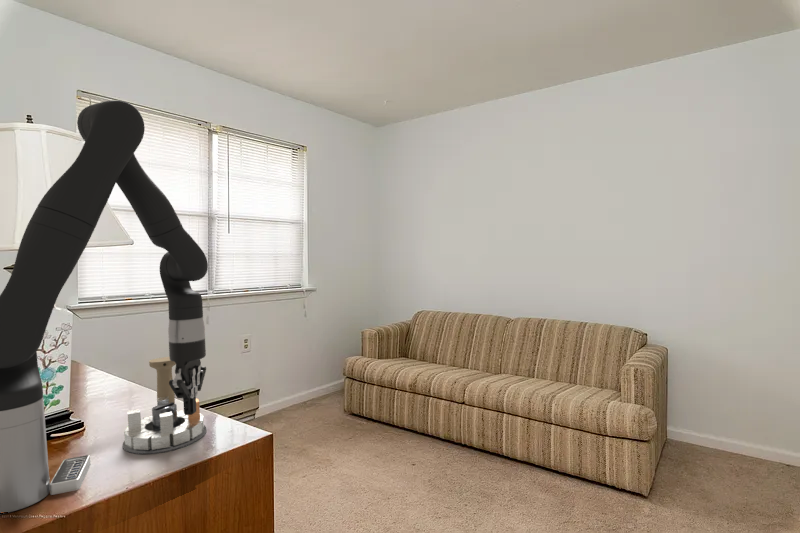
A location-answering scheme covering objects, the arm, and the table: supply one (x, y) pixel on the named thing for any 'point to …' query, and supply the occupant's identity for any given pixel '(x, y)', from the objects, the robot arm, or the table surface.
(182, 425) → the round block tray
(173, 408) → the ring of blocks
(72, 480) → the multiport hub
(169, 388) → the handle
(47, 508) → the table surface
